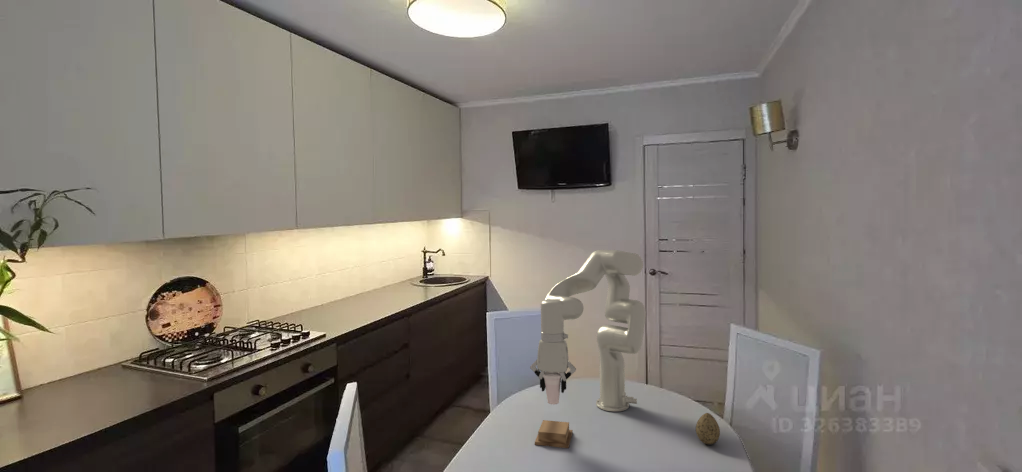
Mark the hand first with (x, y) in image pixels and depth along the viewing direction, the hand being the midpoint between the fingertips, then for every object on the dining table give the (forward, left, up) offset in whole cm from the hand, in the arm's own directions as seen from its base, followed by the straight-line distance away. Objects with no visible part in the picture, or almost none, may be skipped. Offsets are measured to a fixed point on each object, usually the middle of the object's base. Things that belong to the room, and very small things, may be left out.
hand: (553, 390), depth 154 cm
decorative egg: (-49, -7, -17) cm, 52 cm away
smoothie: (0, 0, -4) cm, 4 cm away
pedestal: (0, 0, -16) cm, 16 cm away
